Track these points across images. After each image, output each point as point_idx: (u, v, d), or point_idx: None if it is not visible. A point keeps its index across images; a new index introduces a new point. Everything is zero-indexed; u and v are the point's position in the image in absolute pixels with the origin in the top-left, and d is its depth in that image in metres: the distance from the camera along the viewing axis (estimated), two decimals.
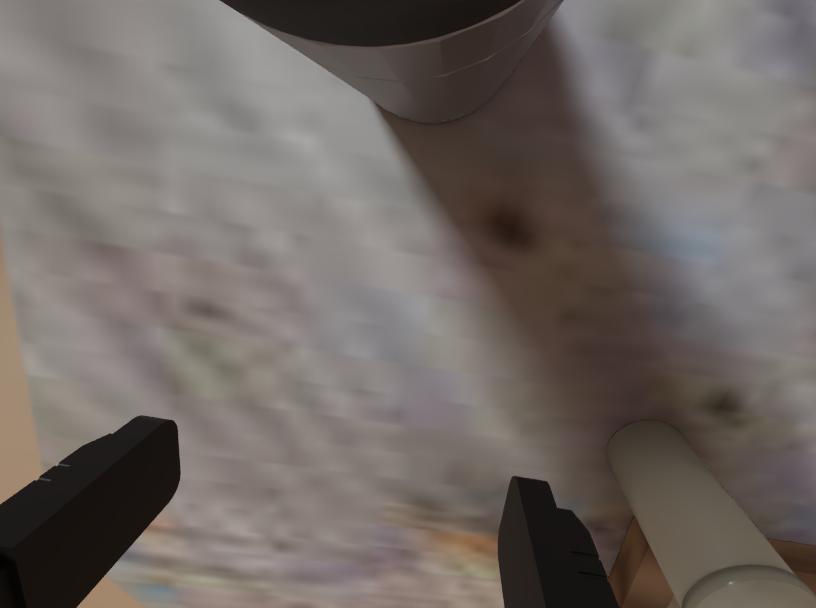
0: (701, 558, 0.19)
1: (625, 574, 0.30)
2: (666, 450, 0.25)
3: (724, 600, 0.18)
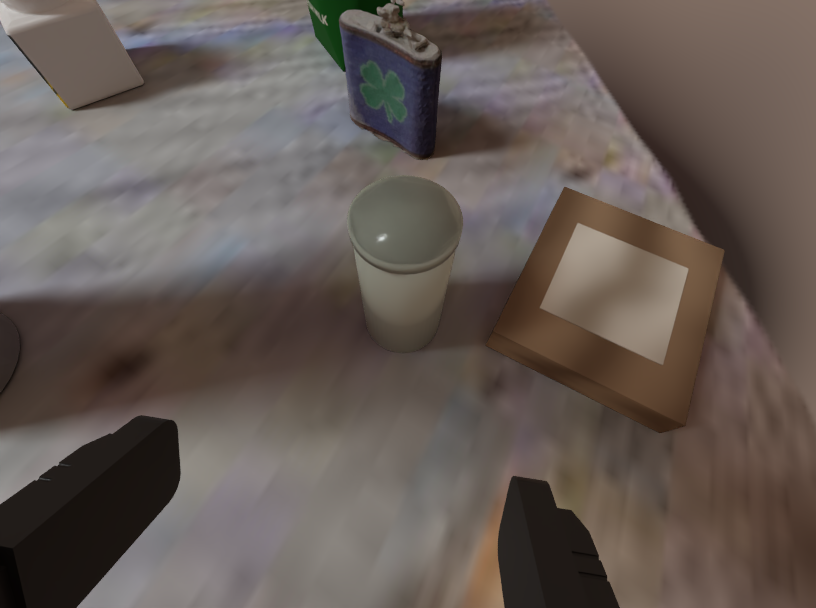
0: (355, 253, 0.20)
1: (550, 366, 0.26)
2: None
3: (369, 234, 0.18)
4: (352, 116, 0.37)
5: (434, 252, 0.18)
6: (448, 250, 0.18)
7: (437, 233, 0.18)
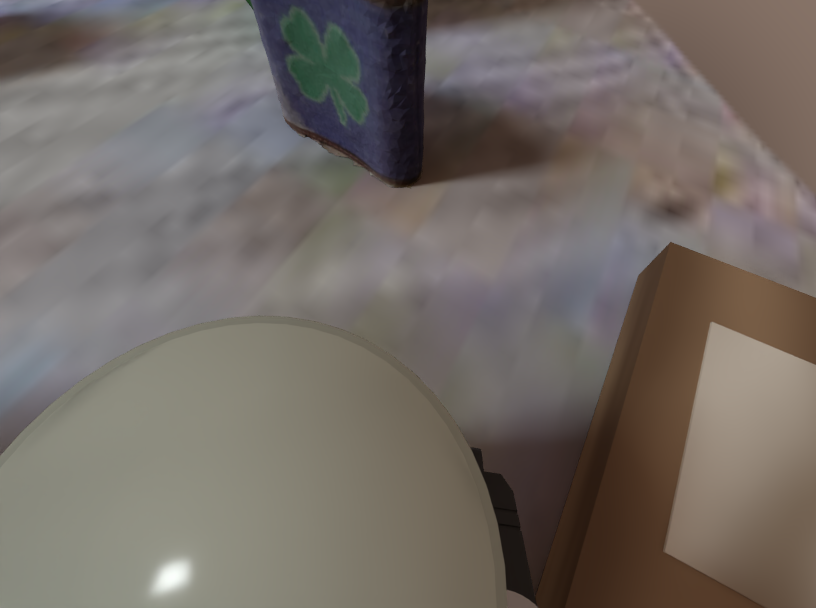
0: None
1: None
2: None
3: None
4: (286, 115, 0.22)
5: None
6: None
7: None
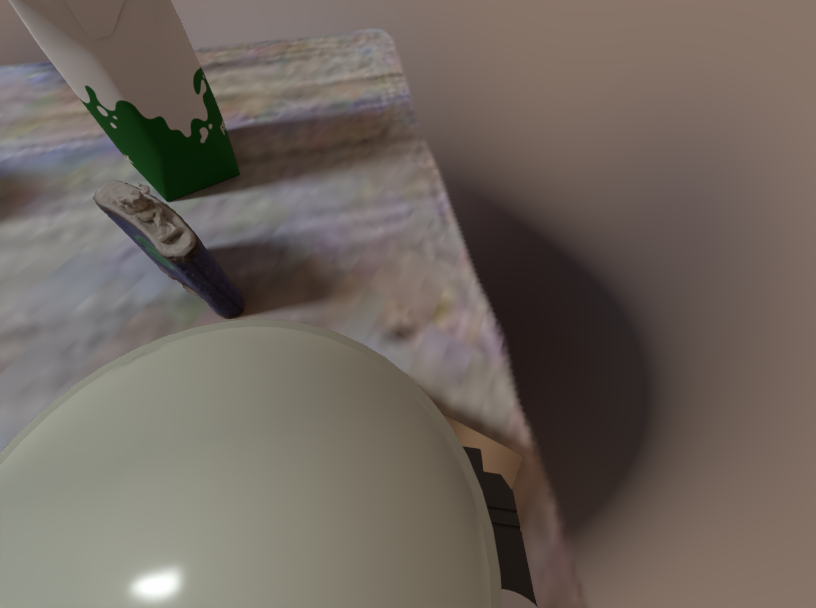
0: None
1: None
2: None
3: None
4: (158, 266, 0.33)
5: None
6: None
7: None
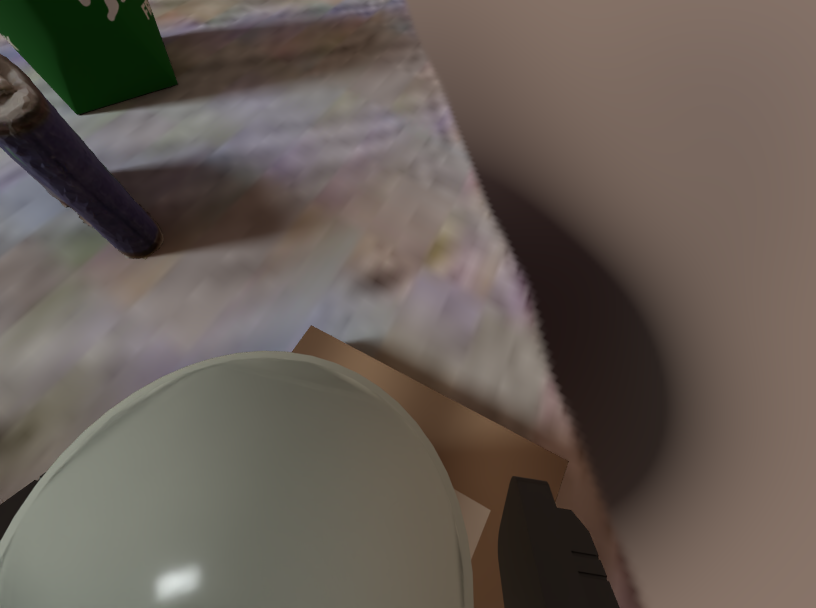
0: None
1: None
2: None
3: None
4: (45, 188, 0.24)
5: None
6: None
7: None
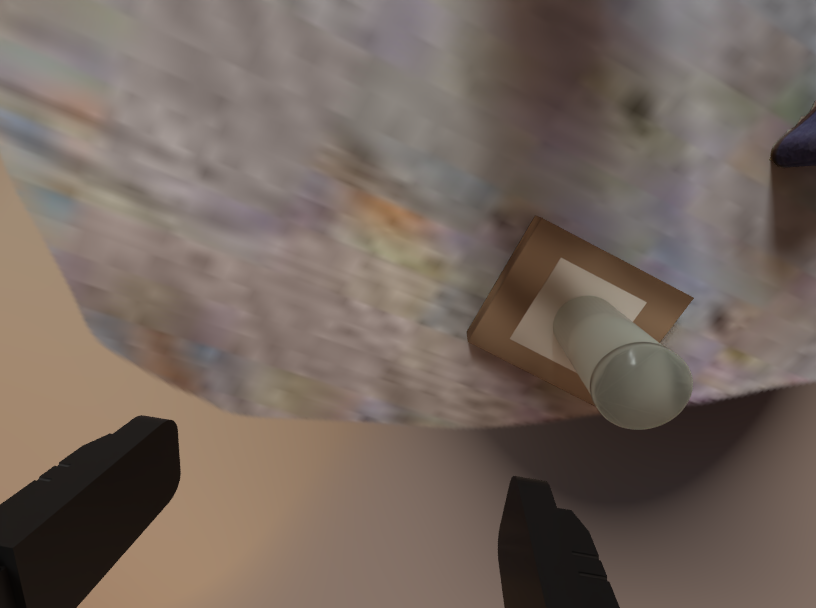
0: (619, 340, 0.24)
1: (512, 261, 0.34)
2: (608, 306, 0.30)
3: (627, 362, 0.23)
4: None
5: (604, 407, 0.24)
6: (605, 416, 0.24)
7: (622, 411, 0.24)
